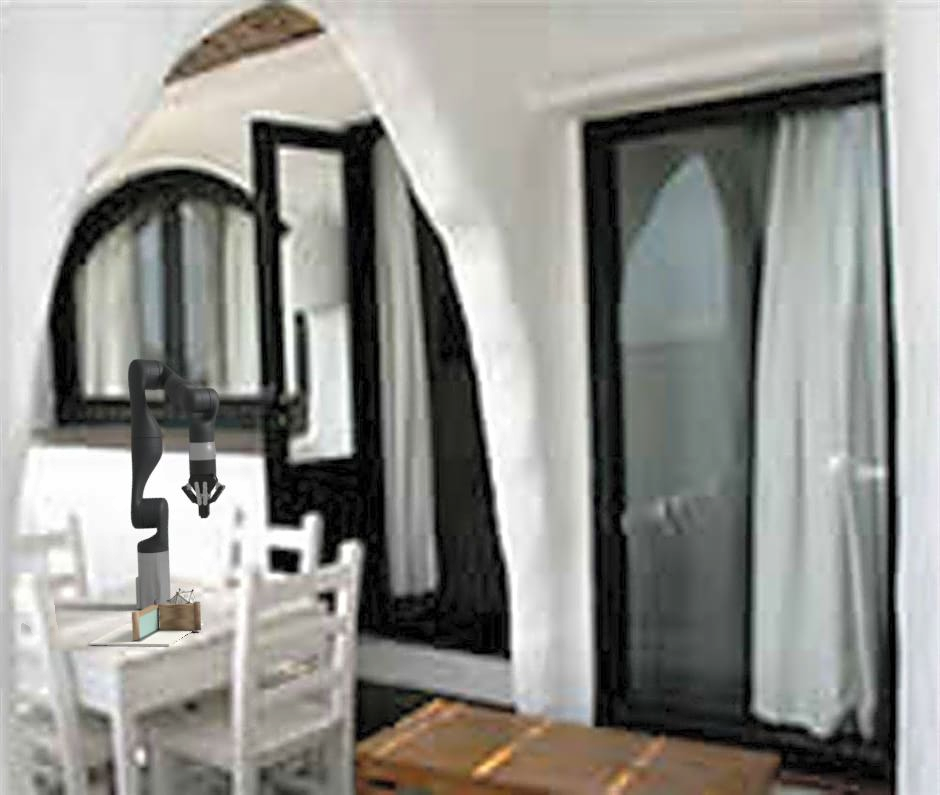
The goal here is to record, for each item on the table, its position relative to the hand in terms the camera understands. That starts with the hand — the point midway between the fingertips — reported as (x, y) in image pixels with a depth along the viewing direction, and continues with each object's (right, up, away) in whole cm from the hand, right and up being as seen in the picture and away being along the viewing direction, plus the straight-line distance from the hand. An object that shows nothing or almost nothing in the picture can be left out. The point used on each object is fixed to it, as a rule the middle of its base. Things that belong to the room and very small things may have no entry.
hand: (204, 517), depth 335 cm
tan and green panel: (-11, -29, -22) cm, 38 cm away
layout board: (-11, -30, -19) cm, 37 cm away
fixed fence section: (-4, -29, -16) cm, 33 cm away
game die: (-7, -29, +4) cm, 30 cm away
